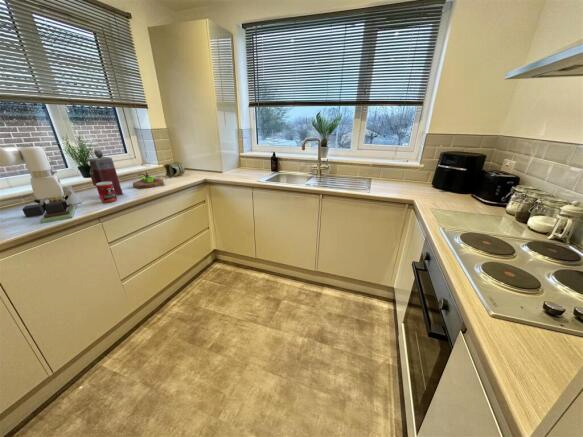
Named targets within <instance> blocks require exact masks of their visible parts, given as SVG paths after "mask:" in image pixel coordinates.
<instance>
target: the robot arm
mask: <svg viewBox="0 0 583 437" xmlns="http://www.w3.org/2000/svg"><path fill="white" fill-rule="evenodd" d="M20 164H25V166H26V167H27V170H28V172H29V175H30V178H29V180H30V185H31V189H32V193H31V195H30V196H29V197H28V200H29V201H32V202H34V203H36V204H40V205H42V207H43V210H44V211H45V213H47V211H46V208H45V206H46V205H47V202H46V200H48V198H54V197H59V198H60V199H61V200H62V205H63V207H64V209H65V210H66V209H67V207H68V205H67V202H66V200H67V199H68V197H69V196H70V195H71V194H72V192H70V191H68V190H66V189H65V188H64V186H63V184H62V182H61V181H60V179H59V177H58V175H56V174H57V173H58V171H57V170H54V169H53V168H52V167H51V164H50V162H49V159H48V157H47V154H46V151H45V149H44V148H43V147H42V146H36V145H35V146H5V147H1V146H0V167H11V166H16V165H20ZM64 195H65V196H64Z"/></svg>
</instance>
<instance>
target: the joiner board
mask: <svg viewBox="0 0 583 437" xmlns="http://www.w3.org/2000/svg"><path fill="white" fill-rule="evenodd" d="M77 207H78V205H77V204H68V207H67V210H66V212H60V213H54V214H48V213H46V212H45V213H44V214H43V217H42V218H41V219H40V223H41V224H45V223H51V222H57V221H62V220H69V219H73V217H74V215H75V212H76V211H77Z"/></svg>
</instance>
